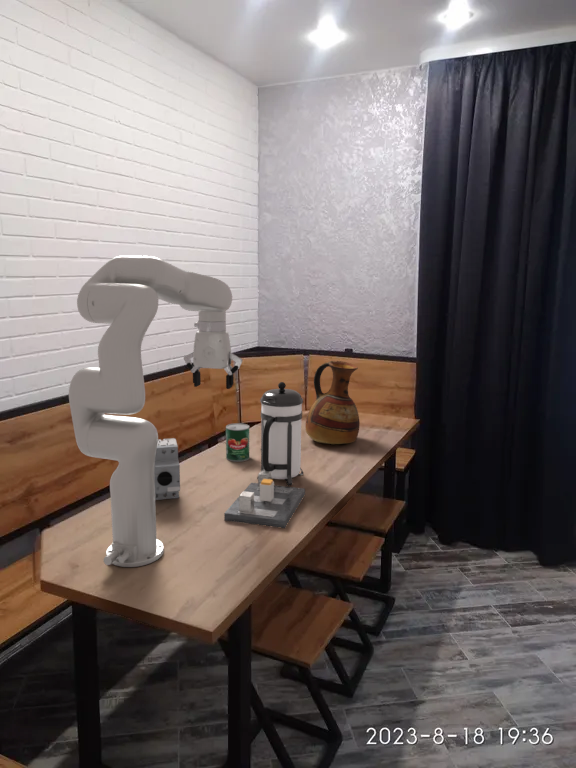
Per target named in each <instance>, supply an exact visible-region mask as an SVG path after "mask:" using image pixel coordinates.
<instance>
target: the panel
mask: <svg viewBox="0 0 576 768" xmlns="http://www.w3.org/2000/svg"><path fill="white" fill-rule="evenodd" d="M271 474H272V472H271V471H261V470H260V471H259V472H258V474H257V477H258V479H257V482H250V484H249V485H248V486H247V487H246V488H245V489H244V490H243V491H242V492H241V493H240V494H239V496H238V497H237V498H236V499H235V500H234V501H233V502H232V504H231V505H230V506H229V507H228V508H227V509H226V510H225V512H224V513H223V515H224V517H223V518H224V520H223V521H225V522H233V523H240V524H248V525H255V524H259V525H258V526H263V525H266V526H265V527H270V526H272V527H271V528H278V527H281V528H280V529H286V527H287V526H286V525H288V524H289V522H290V521H291V519H292V517H293V516H294V514H295V512H296V511H295V510H297V509H298V507H299V506H300V504H301V503H302V501H303V499H304V498H305V496H306V488H303V487H302V488H301V487H293V486H287V485H285V486H284V485H276V484H274V498H273V499H272V500H271V502H269V501H261V500H260V484H261V481H262V480H263V479H271V480H272V478H271ZM304 495H305V496H304ZM303 497H304V498H303ZM302 498H303V499H302ZM301 500H302V501H301ZM299 503H300V504H299ZM298 505H299V506H298ZM296 508H297V509H296ZM293 513H294V514H293ZM292 515H293V516H292ZM290 518H291V519H290ZM289 520H290V521H289ZM287 523H288V524H287Z"/></svg>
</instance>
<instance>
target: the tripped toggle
mask: <svg viewBox="0 0 576 768" xmlns="http://www.w3.org/2000/svg"><path fill="white" fill-rule="evenodd" d="M274 485H275V481H274V479H272V478H271V479H263V480H262V481H261V484H260V500H261V501H269V502H271V500H272V499H273V498H274Z"/></svg>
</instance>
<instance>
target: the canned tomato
mask: <svg viewBox="0 0 576 768" xmlns="http://www.w3.org/2000/svg"><path fill="white" fill-rule="evenodd" d="M225 451H226V452H225V454H226V455H225V459H226V460H227V461H230V462H236V463H237V462H244V461H249V459H250V425H248V424H246V423H238V422H236V423H229V424H227V425H226V426H225Z"/></svg>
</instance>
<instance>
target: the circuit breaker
mask: <svg viewBox="0 0 576 768" xmlns="http://www.w3.org/2000/svg"><path fill="white" fill-rule="evenodd" d="M180 468H181V466H180V462H179V445H178V443H177V439H176V438H174V437H173V438H163V439H161V438H160V439H159V438H158V443H157V449H156V456H155V469H154V480H155V501H160V500H169V499H170V500H171V499H172V500H173V499H179V498H180V492H181V474H180V473H181V471H180Z"/></svg>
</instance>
